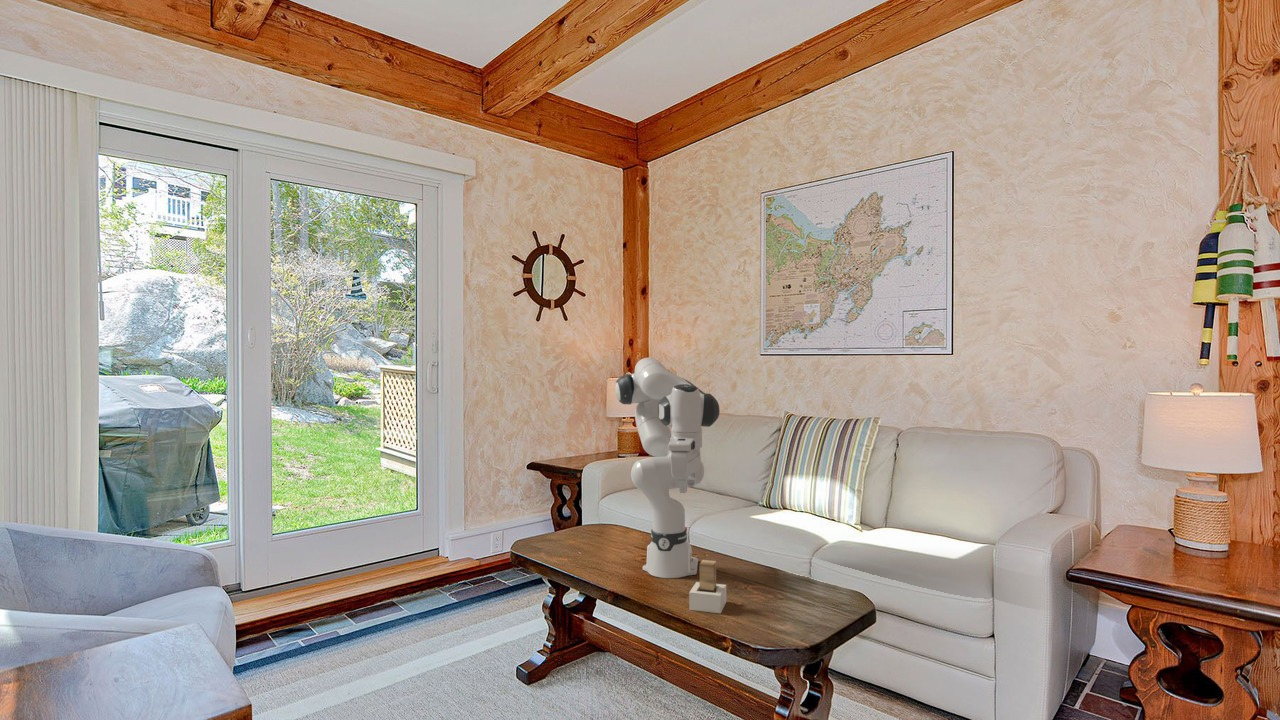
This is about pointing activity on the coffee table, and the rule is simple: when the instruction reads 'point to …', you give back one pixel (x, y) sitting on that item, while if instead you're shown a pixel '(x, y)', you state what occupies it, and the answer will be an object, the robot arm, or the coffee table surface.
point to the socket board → (707, 599)
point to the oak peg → (707, 576)
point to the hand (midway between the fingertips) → (687, 489)
